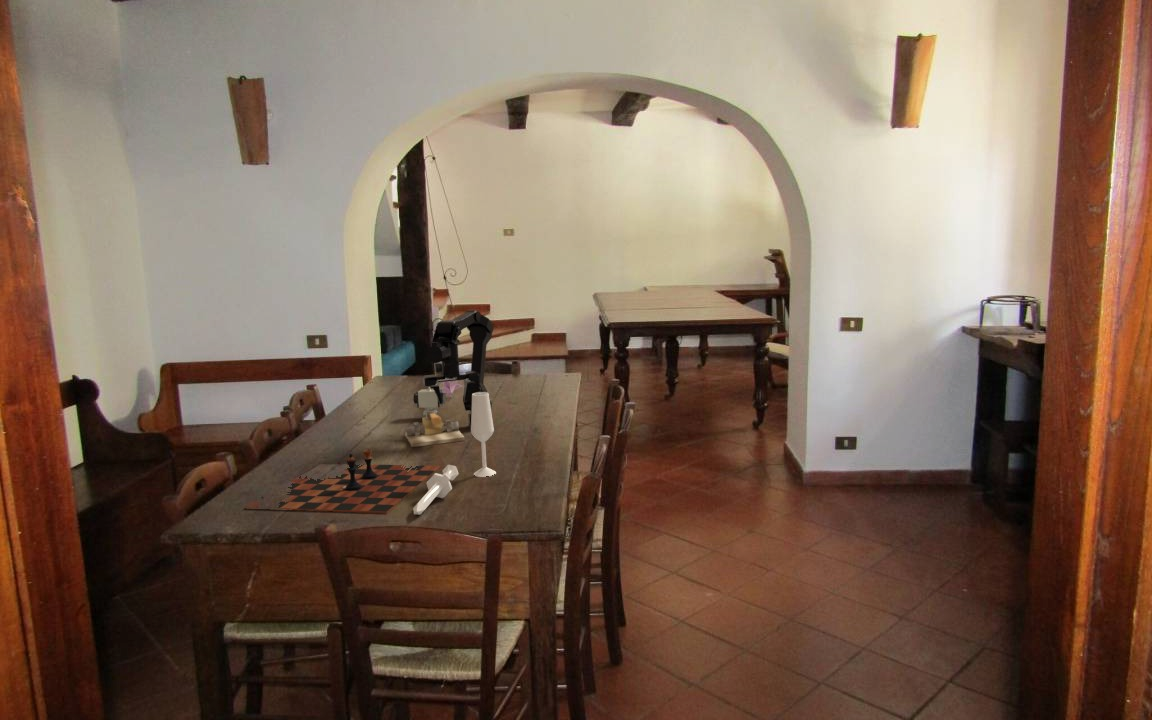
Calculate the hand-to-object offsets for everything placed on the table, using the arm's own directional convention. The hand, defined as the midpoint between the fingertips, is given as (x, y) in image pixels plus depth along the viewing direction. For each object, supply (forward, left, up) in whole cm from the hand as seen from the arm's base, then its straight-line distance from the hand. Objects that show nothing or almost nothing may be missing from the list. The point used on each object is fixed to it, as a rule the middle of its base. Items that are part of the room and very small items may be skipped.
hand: (452, 403), depth 261 cm
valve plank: (+6, -6, -13) cm, 15 cm away
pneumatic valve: (+2, -37, -13) cm, 39 cm away
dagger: (+16, +59, -13) cm, 63 cm away
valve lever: (+6, -4, -6) cm, 9 cm away
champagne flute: (-1, +41, -13) cm, 43 cm away
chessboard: (+37, +35, -14) cm, 53 cm away
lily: (-11, -67, -13) cm, 69 cm away
